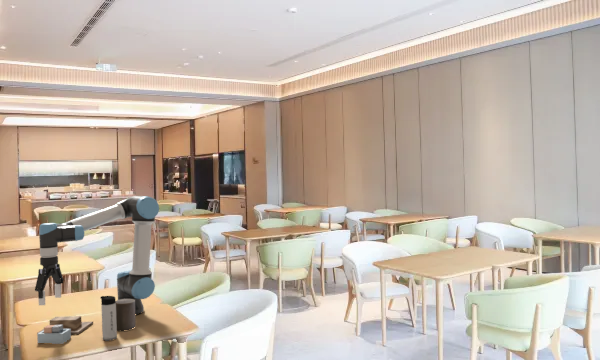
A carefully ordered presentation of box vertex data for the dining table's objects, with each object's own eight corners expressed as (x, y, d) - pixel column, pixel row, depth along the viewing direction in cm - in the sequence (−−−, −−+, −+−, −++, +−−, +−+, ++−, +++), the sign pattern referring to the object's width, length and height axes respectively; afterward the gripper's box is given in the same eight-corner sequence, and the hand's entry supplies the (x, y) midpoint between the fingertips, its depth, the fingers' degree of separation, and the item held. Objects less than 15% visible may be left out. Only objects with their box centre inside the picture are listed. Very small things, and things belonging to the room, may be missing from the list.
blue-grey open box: (71, 339, 231) (70, 328, 231) (63, 344, 224) (62, 333, 224) (46, 339, 232) (46, 328, 232) (37, 344, 225) (37, 333, 225)
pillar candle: (116, 332, 238) (115, 302, 237) (113, 327, 246) (113, 297, 246) (137, 329, 242) (136, 299, 242) (134, 324, 251) (133, 294, 250)
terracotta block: (55, 332, 230) (55, 324, 229) (51, 334, 226) (51, 327, 226) (48, 332, 230) (47, 325, 230) (44, 335, 226) (43, 327, 226)
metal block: (63, 332, 230) (63, 324, 230) (59, 334, 226) (59, 327, 226) (55, 332, 230) (55, 324, 230) (52, 334, 226) (51, 327, 226)
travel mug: (104, 336, 232) (102, 294, 232) (118, 336, 233) (117, 294, 232) (100, 341, 226) (98, 298, 225) (114, 340, 226) (113, 297, 226)
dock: (92, 323, 252) (92, 313, 252) (78, 334, 237) (77, 322, 236) (54, 324, 253) (54, 313, 253) (37, 335, 237) (36, 323, 237)
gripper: (55, 251, 243) (56, 294, 243) (25, 261, 218) (26, 308, 219) (70, 251, 243) (71, 294, 243) (41, 261, 218) (43, 308, 218)
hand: (50, 301), depth 231 cm, fingers open, 13 cm apart
